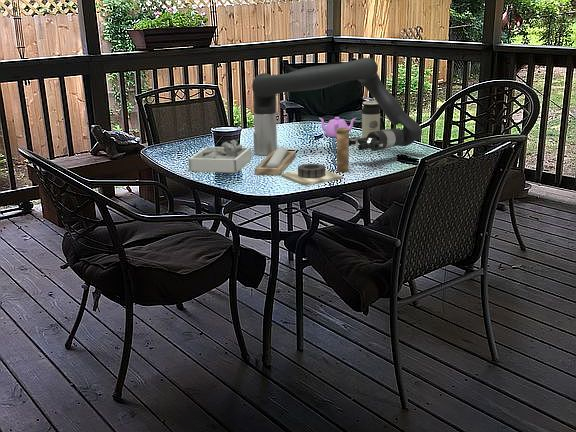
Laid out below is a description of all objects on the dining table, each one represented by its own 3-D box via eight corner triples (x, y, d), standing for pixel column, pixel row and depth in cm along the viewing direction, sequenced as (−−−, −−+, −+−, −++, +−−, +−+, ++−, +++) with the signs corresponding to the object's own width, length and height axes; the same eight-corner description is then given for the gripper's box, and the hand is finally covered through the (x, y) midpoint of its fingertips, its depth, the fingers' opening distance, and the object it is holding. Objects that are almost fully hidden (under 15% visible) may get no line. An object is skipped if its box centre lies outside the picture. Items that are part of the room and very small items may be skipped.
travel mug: (361, 140, 301) (361, 101, 295) (378, 140, 300) (379, 100, 295) (362, 144, 293) (362, 103, 288) (380, 144, 293) (381, 103, 287)
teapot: (318, 135, 316) (318, 117, 313) (341, 131, 323) (341, 113, 320) (333, 139, 306) (333, 120, 303) (356, 135, 313) (356, 116, 310)
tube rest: (254, 174, 246) (254, 168, 246) (273, 156, 275) (272, 150, 274) (279, 175, 245) (279, 169, 244) (295, 156, 273) (295, 151, 272)
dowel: (336, 172, 247) (335, 129, 242) (337, 169, 251) (337, 127, 246) (347, 172, 246) (348, 130, 241) (349, 169, 250) (349, 127, 245)
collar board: (305, 185, 230) (305, 174, 229) (281, 176, 243) (281, 165, 242) (342, 178, 238) (342, 167, 237) (317, 170, 251) (317, 159, 250)
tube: (280, 163, 247) (289, 148, 270) (267, 159, 247) (277, 144, 270) (276, 176, 248) (285, 160, 272) (263, 172, 249) (273, 156, 272)
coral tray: (189, 171, 254) (188, 158, 252) (207, 158, 274) (206, 146, 273) (236, 172, 250) (236, 159, 249) (251, 159, 271) (250, 147, 269)
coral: (246, 162, 266) (245, 138, 263) (236, 171, 253) (235, 145, 250) (206, 161, 270) (205, 137, 267) (194, 169, 257) (193, 144, 254)
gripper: (368, 128, 262) (338, 133, 253) (395, 132, 252) (364, 138, 242) (368, 146, 265) (338, 152, 255) (394, 152, 254) (364, 158, 244)
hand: (351, 145), depth 249 cm, fingers open, 8 cm apart
